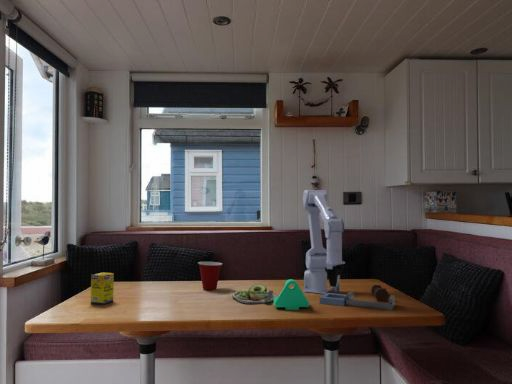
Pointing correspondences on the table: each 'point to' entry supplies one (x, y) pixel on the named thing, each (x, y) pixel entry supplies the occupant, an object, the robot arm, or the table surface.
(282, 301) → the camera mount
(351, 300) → the mount bracket
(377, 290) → the bolt
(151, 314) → the table surface
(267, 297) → the salad plate
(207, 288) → the plastic cup
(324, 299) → the socket
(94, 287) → the supplement box
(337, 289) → the grey metal cylinder
